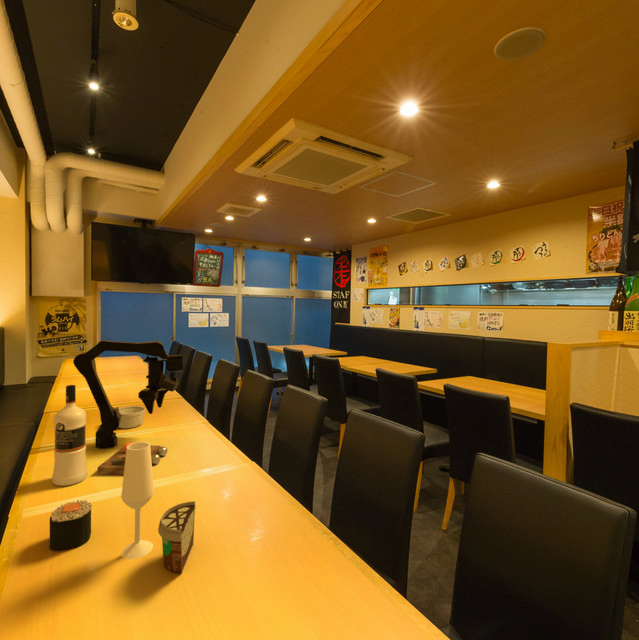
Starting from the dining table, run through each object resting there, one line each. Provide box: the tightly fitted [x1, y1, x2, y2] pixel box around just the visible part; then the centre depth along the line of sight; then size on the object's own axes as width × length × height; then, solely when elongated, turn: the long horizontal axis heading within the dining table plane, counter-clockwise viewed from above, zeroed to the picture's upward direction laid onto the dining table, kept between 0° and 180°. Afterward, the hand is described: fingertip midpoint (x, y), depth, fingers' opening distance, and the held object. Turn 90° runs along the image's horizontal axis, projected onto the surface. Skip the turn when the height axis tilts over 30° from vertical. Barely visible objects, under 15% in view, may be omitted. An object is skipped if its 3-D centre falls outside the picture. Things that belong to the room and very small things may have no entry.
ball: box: [122, 442, 133, 452], centre depth 132 cm, size 3×3×3 cm
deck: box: [97, 444, 162, 476], centre depth 130 cm, size 13×19×4 cm
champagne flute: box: [120, 441, 155, 560], centre depth 84 cm, size 7×7×24 cm
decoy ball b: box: [151, 454, 161, 465], centre depth 129 cm, size 3×3×3 cm
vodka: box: [51, 384, 89, 487], centre depth 115 cm, size 9×9×30 cm
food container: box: [157, 501, 196, 575], centre depth 81 cm, size 12×6×10 cm, turn 5°
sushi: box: [49, 499, 93, 552], centre depth 87 cm, size 8×8×8 cm
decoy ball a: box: [158, 446, 169, 457], centre depth 136 cm, size 3×3×3 cm
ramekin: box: [117, 405, 146, 429], centre depth 170 cm, size 13×13×7 cm
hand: (155, 410), depth 150 cm, fingers open, 9 cm apart
